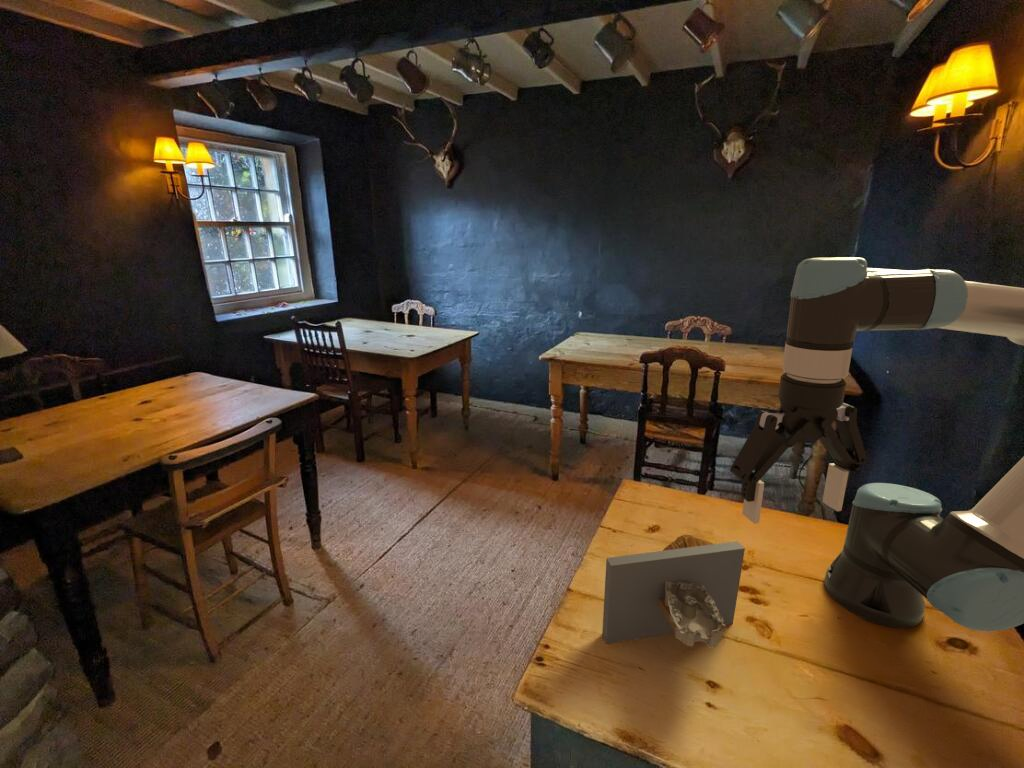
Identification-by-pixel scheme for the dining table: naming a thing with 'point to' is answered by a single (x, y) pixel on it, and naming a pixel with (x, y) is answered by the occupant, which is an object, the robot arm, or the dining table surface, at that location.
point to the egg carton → (693, 614)
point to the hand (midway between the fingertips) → (791, 512)
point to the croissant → (687, 542)
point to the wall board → (641, 587)
